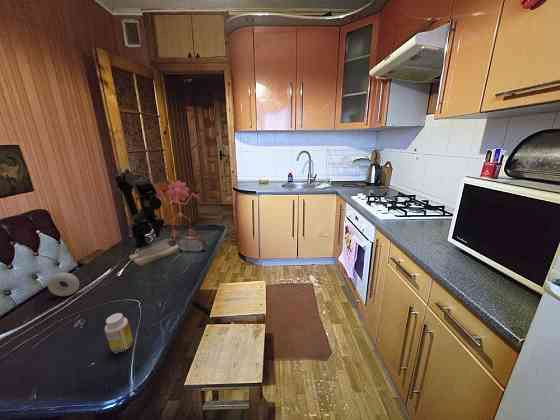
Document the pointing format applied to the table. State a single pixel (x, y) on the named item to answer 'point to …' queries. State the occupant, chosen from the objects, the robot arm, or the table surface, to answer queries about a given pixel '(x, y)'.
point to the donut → (66, 277)
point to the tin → (191, 243)
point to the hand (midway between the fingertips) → (153, 235)
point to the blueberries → (80, 323)
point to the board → (153, 255)
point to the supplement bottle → (118, 333)
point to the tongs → (156, 247)
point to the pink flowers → (178, 193)
